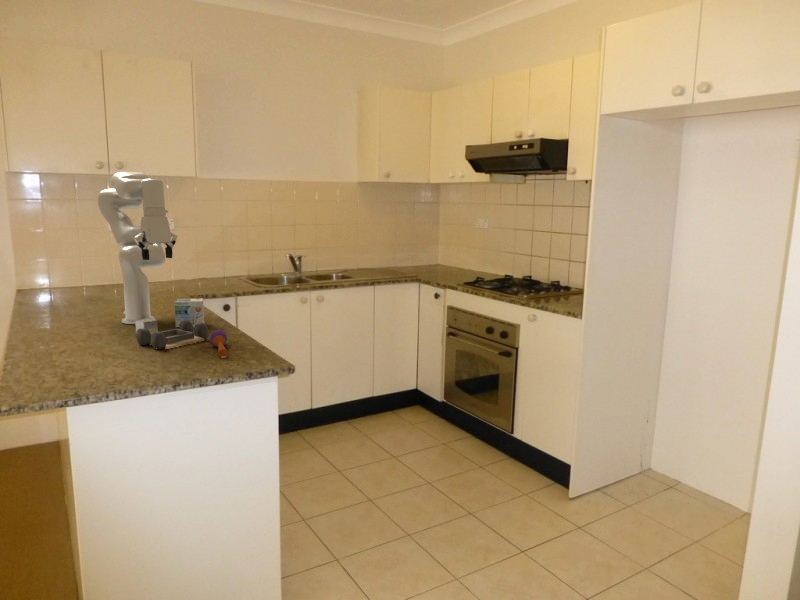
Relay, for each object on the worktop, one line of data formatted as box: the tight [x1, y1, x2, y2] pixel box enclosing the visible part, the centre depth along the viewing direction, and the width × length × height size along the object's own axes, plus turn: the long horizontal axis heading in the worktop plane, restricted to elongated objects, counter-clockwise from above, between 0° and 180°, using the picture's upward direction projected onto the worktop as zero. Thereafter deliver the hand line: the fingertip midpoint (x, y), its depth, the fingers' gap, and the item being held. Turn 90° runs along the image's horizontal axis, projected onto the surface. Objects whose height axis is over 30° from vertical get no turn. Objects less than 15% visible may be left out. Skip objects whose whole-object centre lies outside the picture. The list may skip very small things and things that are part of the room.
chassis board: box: [135, 320, 210, 350], centre depth 206 cm, size 16×19×6 cm
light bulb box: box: [174, 298, 205, 328], centre depth 232 cm, size 11×7×11 cm, turn 105°
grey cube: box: [134, 318, 159, 334], centre depth 215 cm, size 6×6×6 cm
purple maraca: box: [209, 329, 229, 358], centre depth 196 cm, size 6×6×20 cm
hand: (157, 258), depth 216 cm, fingers open, 9 cm apart
